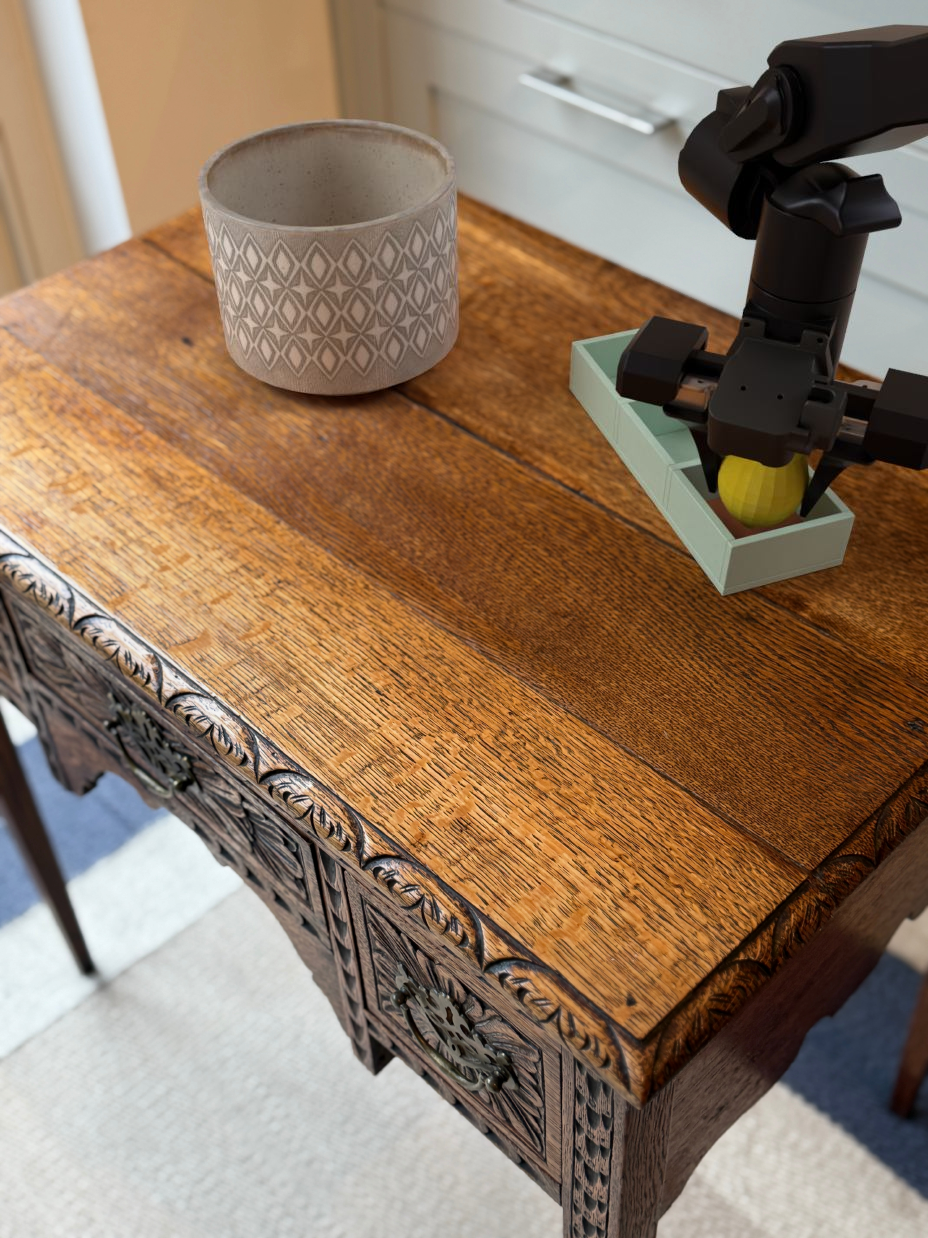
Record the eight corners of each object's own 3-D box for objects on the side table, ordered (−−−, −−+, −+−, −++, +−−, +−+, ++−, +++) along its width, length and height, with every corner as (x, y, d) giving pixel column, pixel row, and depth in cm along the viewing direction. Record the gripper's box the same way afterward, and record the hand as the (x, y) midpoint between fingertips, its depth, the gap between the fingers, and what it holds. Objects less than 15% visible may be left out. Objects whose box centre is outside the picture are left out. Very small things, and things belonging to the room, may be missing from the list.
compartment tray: (841, 564, 76) (855, 515, 73) (722, 596, 74) (731, 547, 71) (670, 366, 92) (676, 320, 90) (568, 388, 90) (571, 341, 88)
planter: (446, 278, 103) (442, 111, 92) (472, 400, 89) (471, 220, 79) (230, 294, 101) (202, 125, 91) (225, 420, 88) (191, 239, 78)
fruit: (797, 558, 74) (823, 455, 69) (709, 549, 75) (727, 446, 70) (795, 503, 78) (819, 401, 73) (711, 495, 79) (728, 394, 73)
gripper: (590, 310, 62) (575, 536, 73) (955, 392, 56) (879, 625, 67) (659, 221, 69) (636, 439, 80) (990, 286, 63) (916, 512, 74)
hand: (758, 501), depth 75 cm, fingers closed on fruit, 5 cm apart
